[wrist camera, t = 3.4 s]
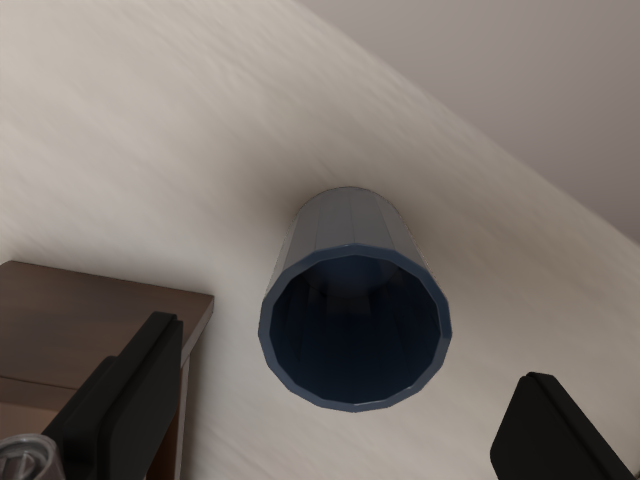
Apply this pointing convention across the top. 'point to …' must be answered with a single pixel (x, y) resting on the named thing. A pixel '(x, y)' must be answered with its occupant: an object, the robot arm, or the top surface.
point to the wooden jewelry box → (81, 344)
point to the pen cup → (353, 306)
